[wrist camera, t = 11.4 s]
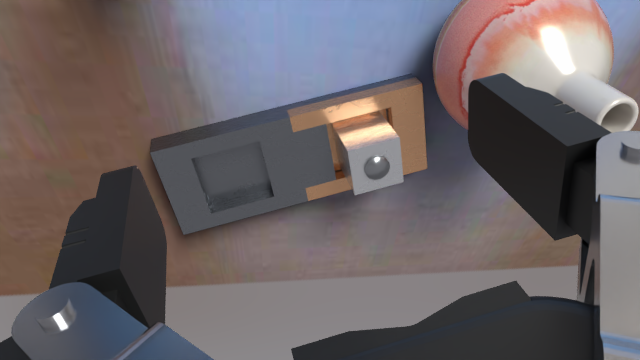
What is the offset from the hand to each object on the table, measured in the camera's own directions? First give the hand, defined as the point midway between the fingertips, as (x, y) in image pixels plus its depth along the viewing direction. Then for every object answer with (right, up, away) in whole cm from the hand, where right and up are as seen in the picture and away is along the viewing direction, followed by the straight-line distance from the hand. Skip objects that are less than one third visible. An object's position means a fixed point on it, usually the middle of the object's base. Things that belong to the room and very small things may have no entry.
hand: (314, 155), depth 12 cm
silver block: (+4, +3, +36) cm, 36 cm away
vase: (+15, +12, +35) cm, 40 cm away
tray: (-2, +2, +36) cm, 36 cm away
